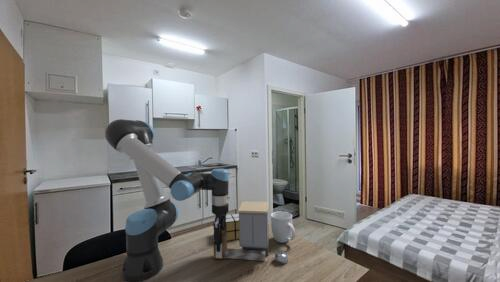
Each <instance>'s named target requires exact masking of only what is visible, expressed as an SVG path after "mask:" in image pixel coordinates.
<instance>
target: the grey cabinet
mask: <svg viewBox="0 0 500 282" xmlns="http://www.w3.org/2000/svg"><path fill="white" fill-rule="evenodd" d="M269 204H270V202H269V201H246V200H245V201H242V202H241V204H240V206H239V208H238V210H237V213H238V214H239V239H238V240H239V246H238V247H239V248H240V247H241V249H243V250H257V251H265V256H269V250H270V241H269V240H270V238H269V237H270V236H269V235H270V233H269V229H270V228H269Z"/></svg>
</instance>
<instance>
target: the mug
mask: <svg viewBox="0 0 500 282" xmlns="http://www.w3.org/2000/svg"><path fill="white" fill-rule="evenodd" d="M270 226H271V233H272V237H273V238H274V240H275V241H276V242H278V243H279V244H280V243H281V244H282V243H287V242H289V241H294V240H295V238H296V230H295V227H294V225H293V214H291V213H290V212H287V211H281V210H280V211H274V212H272V213H271V214H270ZM291 236H292V237H291Z"/></svg>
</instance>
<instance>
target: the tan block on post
mask: <svg viewBox="0 0 500 282" xmlns="http://www.w3.org/2000/svg"><path fill="white" fill-rule="evenodd" d="M221 243H222V258H218V259H220V260H221V259H222V260H225V259H235V260H245V261H246V260H248V261H249V260H250V261H259V262H260V261H261V262H266V255H265V251H257V250H243V249H242V248H228V241H227V230H222V239H221ZM213 259H217V258H216V245H214V244H213Z"/></svg>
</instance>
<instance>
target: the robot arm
mask: <svg viewBox="0 0 500 282" xmlns="http://www.w3.org/2000/svg"><path fill="white" fill-rule="evenodd" d="M104 137H105V140H106V141H107V143H108V144H109V145H110V146H111V147H112V148H113V149H114V150H115V151H116V152H118V153H124V154H125V155H126V156H127V157H129V158H130V159H131V160H132V161H133V163H134V166H135V171H136V173H137V176H138V180H139V183H140V186H141V190H142V192H143V196H144V199H145V204H144V206H143V207H144V209H140V210H137V211H135V212H133V213H131V214H130V215H128V217H127V218H126V220H125V228H124V231H125V245H126V248H125V249H126V255H125V259H124V262H123V267H122V269H121V271H122V272H121V273H122V275H121V276H122V279H123V280H124V281H126V282H140V281H144V280H145V281H146V280H147V279H150V278H152V277H154V276H155V275H157V274H158V273H159V272H160V271H161V270H162V269H163V267H164V259H163V256H162V254H161V251H160V249H159V239H158V238H159V236H160V235H161V234H163V233H164V232H165V231H166V230H168V229H170V228H171V227H172V226H173V225H174V224H175V223H176V222H177V220H178V218H179V208H178V206H177V205H176V204H175V203H174V202H173V201H171V199H170V197H169V196H167V195H166V194H165V190H164V187H163V185H164V186H166V187H167V188H169V189H170V194H171V196H172V199H174V200H175V201H178V202H179V201H180V202H183V201H185V200H187V199H189V198H191V197H192V196H194V195H195V194H197V193H198V192H200V191H211V213H212V214H213V215H215V217H214V222H213V224H212V225H213V246H214V245H216V258H215V259H219V258H222V243H221V239H222V230H226V215H227V214H228V213H229V212H230V210H229V207H230V205H229V199H230V195H229V184H230V183H229V181H230V179H229V171H228V169H226V168H213V169H212V170H211V172H210V173H205V172H196V171H195V172H188V173H187V174H184V173H183V172H181V171H180V170H179V169H177V168H176V167H175V166H174V165H172V164H171V163H169V161H168V160H165V158H163V157H162V156H161V155H159V154H158V153H157V152H156V151H154V150H153V149H152V147H153V145H154V143H153V140H154V137H155V131H154V129H153V126H151V125H150V124H149V122H146V121H143V120H139V119H138V120H134V119H133V120H132V119H122V118H121V119H116V120H112V121H111V122H110V123H109V124H108V125H107V126H106V129H105V131H104Z"/></svg>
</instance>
